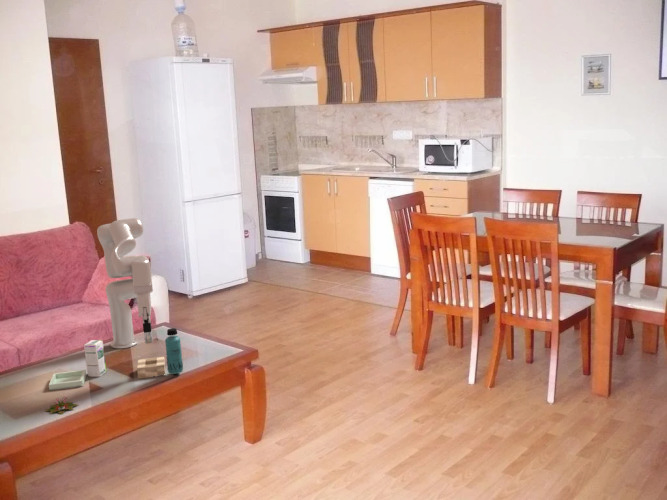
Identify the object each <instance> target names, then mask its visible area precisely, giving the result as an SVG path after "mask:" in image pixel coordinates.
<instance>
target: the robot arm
mask: <svg viewBox="0 0 667 500" xmlns="http://www.w3.org/2000/svg"><path fill="white" fill-rule="evenodd" d="M96 230H97V232H96V233H97V238H98V241H99V243H100V245H101V247H102V249H103V253H104V263H105V270H106V274H107V276H108V278H110V279H119V280H114V281H111V282H108V283H107V284H106V286H105V293H106V297H107V301H108V305H109V312H110V320H111V321H110V322H111V328H112V337H113V341H112V342H111V343H110V347H111V348H113V349H119V350H120V349H127V348H131V347H134V346H137V344H138V343H139V341H138V339H137V338H135V333H134V326H133V317H132V309H131V306H130V305H129V304H128V303H127V302H126V301H127V300H130V299H136V300H137V301H136V302H137V310H138V312H137V313H138V318H143V319H142V328H143V329H142V330H143V334H144V333H146V332H151V329H153V328H152V327H153V326H152V321H151V322H150V320H151V314H152V301H151V298H152V297H151V293H153V292H154V291H153V290H154V289H153V281H152V280H153V279H152V270H151V262H150V260H149V258H148V257H147V256H145V255H137V256H136V255H129V256H128V254H129V253H131V252H133V250H134V249H135V248H136V247H137V240H136V239H138V238H140V237H141V236H143V234H144V233H143V232H144V226H143V223H142V222H141V220H140V219H139V218H135V217H133V218H131V217H130V218H125V219H117V220H114V221H113V222H111V223H106V224H101V225H100V226H98V227H97V229H96ZM126 255H127V256H126ZM127 277H131V278H127ZM121 278H126V279H121ZM120 279H121V280H120ZM146 309H147V310H146ZM143 315H144V316H143ZM147 315H148V316H147ZM149 316H150V318H149ZM147 317H148V318H147Z"/></svg>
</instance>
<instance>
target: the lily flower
mask: <svg viewBox="0 0 667 500" xmlns="http://www.w3.org/2000/svg"><path fill="white" fill-rule="evenodd" d="M66 399H67V397H66V396H65V397H63V398H62V400H60V399H59V398H55V401H56V402H55V403H54V404H53V405H50V408H47V409H46V410H44V412H45V411H46V412H49V413H50V414H49V415H51V414H54V413H56V412H57V413H58V414H61V415H63V414H64V413H65V412H66V411H67V410H69V411H70V410H72V411H74V408H75V407H77V406H78V404H76V403H73V401H72V402H71V401H70V402H69V401H67V400H66ZM63 407H64V408H63ZM73 407H74V408H73Z"/></svg>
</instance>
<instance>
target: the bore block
mask: <svg viewBox="0 0 667 500" xmlns="http://www.w3.org/2000/svg"><path fill="white" fill-rule="evenodd" d="M136 367H137V368H136V369H137V379H146V378H154V377H153V376H155V377H159V376H158V375H163V376H165V375H166V360H165V356H159V357H158V356H157V357H149V358H139V359H138V361H137V366H136ZM164 374H165V375H164Z"/></svg>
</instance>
